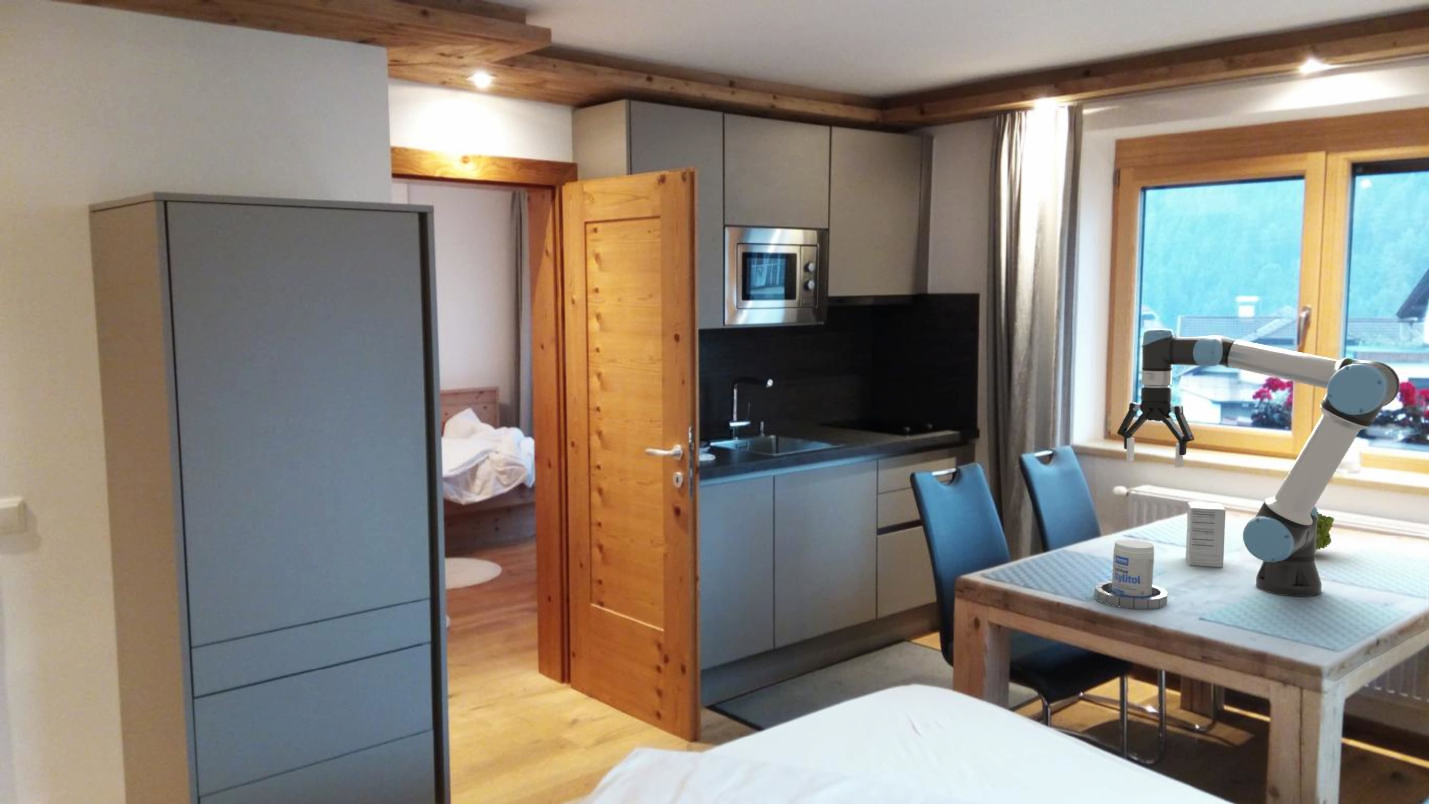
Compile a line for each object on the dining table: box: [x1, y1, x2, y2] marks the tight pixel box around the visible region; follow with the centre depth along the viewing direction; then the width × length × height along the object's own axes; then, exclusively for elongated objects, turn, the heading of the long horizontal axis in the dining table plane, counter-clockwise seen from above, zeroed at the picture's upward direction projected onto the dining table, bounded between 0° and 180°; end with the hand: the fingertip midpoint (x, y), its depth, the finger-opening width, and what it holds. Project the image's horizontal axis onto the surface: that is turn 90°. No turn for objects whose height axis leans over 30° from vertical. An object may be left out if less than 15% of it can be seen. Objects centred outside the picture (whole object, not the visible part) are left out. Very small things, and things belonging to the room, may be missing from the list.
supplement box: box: [1185, 501, 1227, 568], centre depth 303 cm, size 10×9×17 cm
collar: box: [1094, 580, 1169, 610], centre depth 268 cm, size 17×17×2 cm
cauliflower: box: [1316, 511, 1335, 551], centre depth 314 cm, size 18×16×16 cm
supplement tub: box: [1111, 538, 1155, 598], centre depth 267 cm, size 10×10×15 cm
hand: (1154, 464), depth 286 cm, fingers open, 13 cm apart
